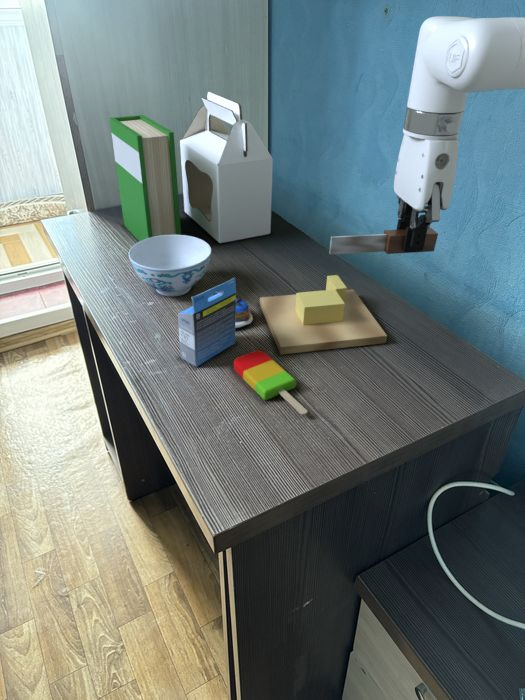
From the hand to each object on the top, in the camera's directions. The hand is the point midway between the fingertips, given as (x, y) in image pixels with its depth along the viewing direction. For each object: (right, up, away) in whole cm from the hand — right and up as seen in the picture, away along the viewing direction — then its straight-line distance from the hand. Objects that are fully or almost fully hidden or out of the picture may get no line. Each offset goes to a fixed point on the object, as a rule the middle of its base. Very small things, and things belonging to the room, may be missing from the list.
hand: (408, 246), depth 82 cm
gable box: (-32, +15, +45) cm, 57 cm away
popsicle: (-21, -22, -6) cm, 32 cm away
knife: (-4, -1, 0) cm, 5 cm away
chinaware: (-40, -5, +18) cm, 44 cm away
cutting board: (-13, -12, +8) cm, 19 cm away
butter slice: (-10, -7, +12) cm, 17 cm away
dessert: (-29, -11, +9) cm, 32 cm away
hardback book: (-49, +10, +38) cm, 62 cm away
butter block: (-13, -10, +8) cm, 19 cm away
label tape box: (-32, -17, +1) cm, 36 cm away
